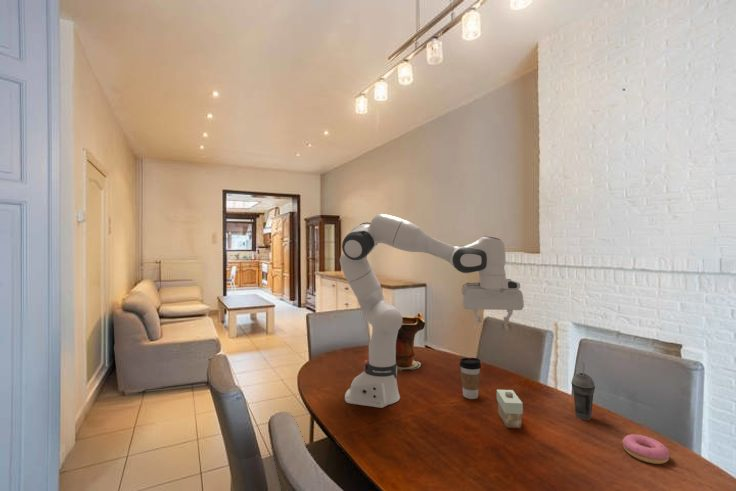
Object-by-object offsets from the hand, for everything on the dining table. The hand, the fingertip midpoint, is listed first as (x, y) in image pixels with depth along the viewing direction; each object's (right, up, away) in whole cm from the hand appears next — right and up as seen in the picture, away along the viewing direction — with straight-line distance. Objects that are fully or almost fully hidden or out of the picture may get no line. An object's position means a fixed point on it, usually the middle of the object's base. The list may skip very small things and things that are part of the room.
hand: (492, 322), depth 120 cm
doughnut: (+38, -35, -19) cm, 55 cm away
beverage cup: (+34, -35, +3) cm, 49 cm away
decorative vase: (-25, -36, +59) cm, 74 cm away
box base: (+6, -35, +1) cm, 36 cm away
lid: (+6, -30, +1) cm, 31 cm away
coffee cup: (-1, -35, +21) cm, 41 cm away
